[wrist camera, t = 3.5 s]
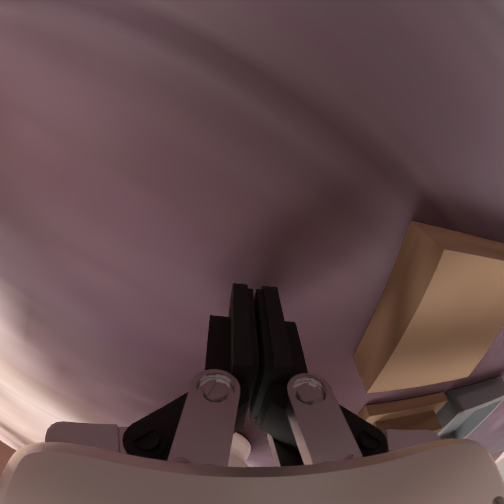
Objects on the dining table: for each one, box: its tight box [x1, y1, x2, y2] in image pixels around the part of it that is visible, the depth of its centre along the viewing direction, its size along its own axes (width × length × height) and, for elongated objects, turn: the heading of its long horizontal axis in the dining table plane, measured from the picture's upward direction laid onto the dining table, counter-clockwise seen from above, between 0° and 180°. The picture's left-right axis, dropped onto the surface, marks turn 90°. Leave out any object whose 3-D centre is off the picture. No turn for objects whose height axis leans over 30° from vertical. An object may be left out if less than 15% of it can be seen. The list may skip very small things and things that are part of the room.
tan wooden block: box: [353, 221, 504, 393], centre depth 12 cm, size 8×8×3 cm
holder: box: [358, 392, 448, 433], centre depth 18 cm, size 8×8×3 cm
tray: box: [436, 376, 504, 440], centre depth 20 cm, size 10×9×2 cm
